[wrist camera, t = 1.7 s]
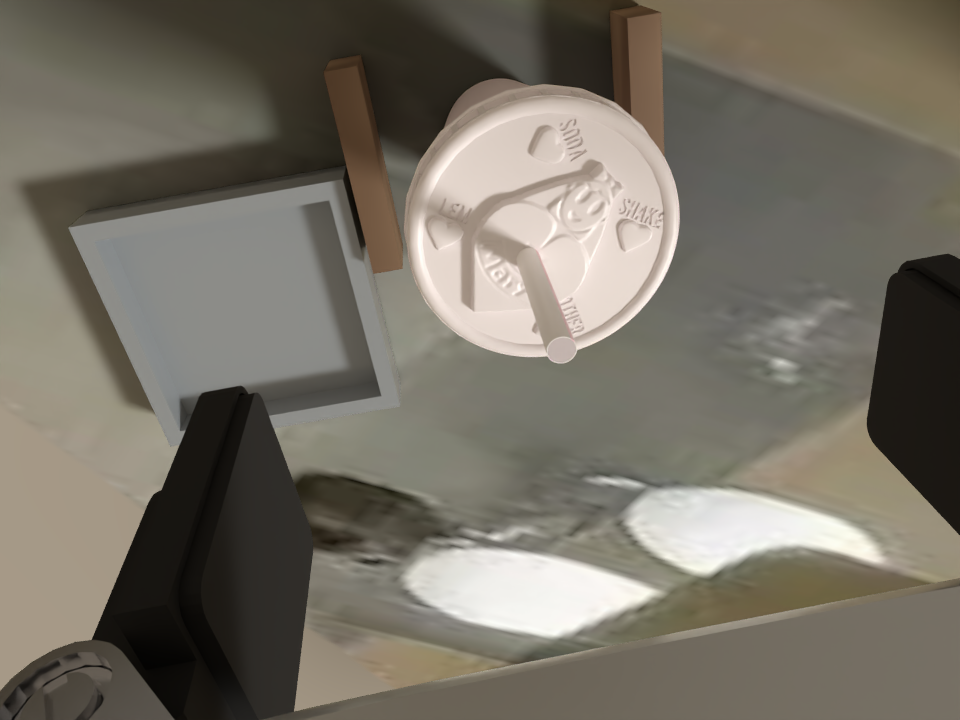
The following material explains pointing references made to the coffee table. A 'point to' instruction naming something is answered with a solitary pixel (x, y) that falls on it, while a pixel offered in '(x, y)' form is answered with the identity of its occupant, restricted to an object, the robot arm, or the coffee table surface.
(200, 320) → the tray
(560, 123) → the smoothie
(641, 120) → the brown parallel rails
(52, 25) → the coffee table surface
